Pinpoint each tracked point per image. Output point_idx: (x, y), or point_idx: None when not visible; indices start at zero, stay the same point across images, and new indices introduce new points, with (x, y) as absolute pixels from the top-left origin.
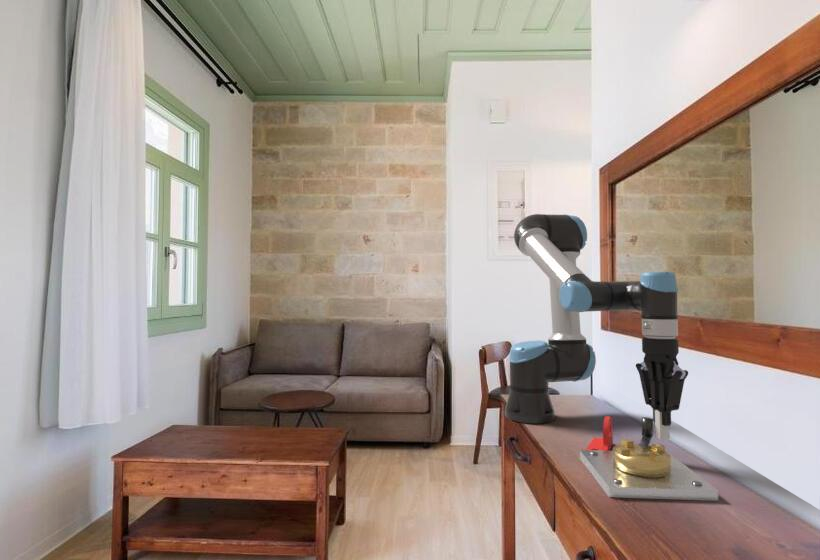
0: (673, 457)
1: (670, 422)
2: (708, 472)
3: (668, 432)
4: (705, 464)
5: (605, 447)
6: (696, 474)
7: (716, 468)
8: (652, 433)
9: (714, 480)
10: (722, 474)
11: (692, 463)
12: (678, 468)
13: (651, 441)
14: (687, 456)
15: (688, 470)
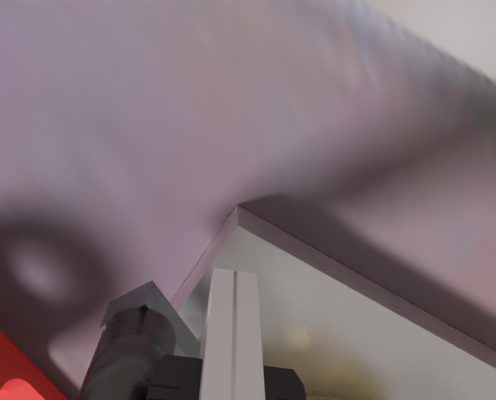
0: (306, 271)
1: (302, 396)
2: (437, 170)
3: (256, 305)
4: (378, 71)
5: (9, 383)
6: (478, 362)
7: (441, 76)
8: (172, 347)
9: (491, 236)
10: (492, 133)
11: (329, 123)
12: (397, 368)
13: (178, 321)
14: (250, 36)
15: (435, 351)
